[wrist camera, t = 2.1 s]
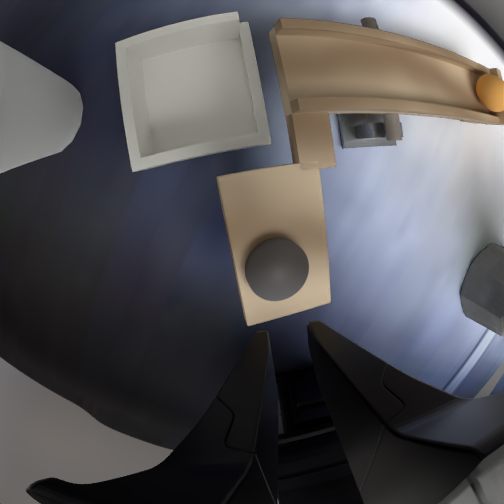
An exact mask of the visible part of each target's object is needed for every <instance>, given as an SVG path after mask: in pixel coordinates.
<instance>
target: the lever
mask: <svg viewBox="0 0 504 504" xmlns="http://www.w3.org/2000/svg"><path fill="white" fill-rule="evenodd" d="M361 23H362V26H363V27H362V26H357V25H351V24H344V23H337V22H329V21H320V20H309V19H292V18H280V19H279V20H278V21H277V23H276V24H275V25H274V27H273V28H272V30H271V31H270V32H269V38H270V42H271V47H272V52H273V56H274V61H275V66H276V71H277V76H278V81H279V86H280V91H281V96H282V102H283V107H284V113H285V117H286V122H287V128H288V134H289V140H290V146H291V152H292V159H293V163H292V164H285V165H278V166H272V167H266V168H260V169H254V170H248V171H243V172H237V173H232V174H227V175H222V176H217V177H216V179H217V184H218V189H219V195H220V200H221V205H222V210H223V215H224V220H225V226H226V231H227V236H228V241H229V246H230V251H231V256H232V260H233V265H234V270H235V275H236V280H237V285H238V290H239V294H240V299H241V304H242V308H243V313H244V318H245V320H246V323H247V325H248V326H250V325H254V324H258V323H262V322H265V321H269V320H273V319H276V318H280V317H283V316H287V315H290V314H294V313H297V312H301V311H304V310H307V309H311V308H314V307H317V306H320V305H324V304H327V303H330V302H331V297H330V278H329V262H328V248H327V236H326V225H325V215H324V205H323V196H322V188H321V179H320V172H319V169H321V168H329V167H336V161H335V153H334V146H333V139H332V133H331V126H330V120H329V115H328V114H340V113H380V114H383V117H384V123H385V130H386V137H387V140H402V135H401V128H400V121H399V115H398V114H404V115H419V116H430V117H440V118H449V119H456V120H460V121H463V122H470V123H482V124H491V125H504V111H501V112H494V111H491V110H489V109H487V108H486V107H485V106H484V105H483V104H482V103H481V102H480V100H479V98H478V96H477V93H476V83H477V81H478V79H479V78H480V77H481V76H482V75H484V74H493V75H496V76H498V77H499V78H500V79H502V77H501V73H500V70H499V69H497V68H493V69H489V68H487V67H485V66H483V65H481V64H478V63H476V62H474V61H472V60H470V59H467V58H465V57H463V56H460V55H458V54H456V53H453V52H450V51H448V50H445V49H443V48H440V47H437V46H434V45H431V44H428V43H425V42H422V41H419V40H416V39H412V38H409V37H405V36H402V35H398V34H394V33H390V32H386V31H382V30H379V29H378V26H377V23H376V20H375V19H374V18H370V17H368V18H363V19H361Z"/></svg>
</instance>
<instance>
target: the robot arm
mask: <svg viewBox="0 0 504 504" xmlns="http://www.w3.org/2000/svg"><path fill="white" fill-rule="evenodd" d="M307 331H308V344H309V349H310V353H311V357H312V361H313V365H314V368H311V369H306V370H301V371H295V372H290V373H284V374H279V375H275V370H274V364H273V358H272V351H271V346H270V340H269V334H268V331H266V330H265V331H259V332H255V333H254V335H253V337H252V339H251V340H250V342H249V344H248V345H247V347H246V349H245V350H244V352H243V354H242V355H241V357H240V359H239V360H238V362H237V364H236V365H235V367H234V369H233V370H232V372H231V374H230V375H229V377H228V378H227V380H226V382H225V383H224V385H223V387H222V388H221V390H220V391H219V393H218V395H217V396H216V398H215V399H214V401H213V402H212V404H211V405H210V407H209V408H208V410H207V411H206V413H205V414H204V416H203V417H202V418H201V420H200V421H199V422H198V423H197V424H196V426H195V427H194V428H193V429H192V431H191V432H190V433H189V434H188V435H187V436H186V437H185V438H184V440H183V441H182V442H181V443H180V444H179V445H178V446H177V447H176V448H175V450H174V451H173V452H172V453H171V454H170V455H169V456H168V457H167V458H166V459H165V460H164V461H163V462H161V463H160V464H159V465H157V466H155V467H153V468H151V469H149V470H145V471H142V472H139V473H135V474H131V475H128V476H124V477H120V478H116V479H112V480H107V481H103V482H98V483H92V484H73V483H69V482H66V481H63V480H60V479H57V478H46V479H42V480H38V481H36V482H34V483H32V484H30V485H29V486H28V487H27V488H26V492H27V493H28V494H29V495H30V496H31V497H32V498H34V499H35V500H37V501H38V502H39V503H41V504H277V498H278V501H279V504H504V393H501V394H496V395H491V396H486V397H481V398H475V399H466V398H461V397H457V396H454V395H452V394H450V393H447V392H445V391H443V390H440V389H438V388H436V387H433V386H431V385H429V384H426V383H424V382H422V381H420V380H418V379H416V378H414V377H412V376H409V375H408V374H406V373H404V372H402V371H401V370H399V369H397V368H395V367H394V366H392V365H390V364H387V362H385V361H384V360H382V359H380V358H379V357H377V356H375V355H374V354H372V353H371V352H369V351H367V350H366V349H364V348H362V347H361V346H359V345H358V344H356V343H354V342H353V341H351V340H350V339H348V338H346V337H345V336H343V335H342V334H340V333H338V332H337V331H335V330H334V329H332V328H330V327H329V326H327V325H326V324H324V323H323V322H321V321H314V322H309V323H308V324H307ZM276 379H277V380H276ZM278 416H281V417H282V424H283V431H284V434H279V435H278Z"/></svg>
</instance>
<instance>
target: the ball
mask: <svg viewBox="0 0 504 504" xmlns="http://www.w3.org/2000/svg"><path fill="white" fill-rule="evenodd" d="M476 93H477V96H478V98H479V100H480V102H481V103H482V104H483V105H484V106H485V107H486V108H487V109H489V110H491V111H494V112H501V111H504V81H503V80H502V79H500V78H499V77H498V76H496V75H493V74H484V75H482V76H481V77H480V78H479V79H478V81H477V83H476Z"/></svg>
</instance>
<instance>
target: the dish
mask: <svg viewBox="0 0 504 504" xmlns="http://www.w3.org/2000/svg"><path fill="white" fill-rule="evenodd" d="M115 46H116V60H117V72H118V82H119V91H120V99H121V107H122V114H123V121H124V127H125V134H126V140H127V145H128V151H129V157H130V162H131V167H132V172H136V171H141V170H146V169H151V168H155V167H159V166H163V165H167V164H171V163H176V162H180V161H184V160H189V159H193V158H198V157H203V156H208V155H213V154H218V153H223V152H228V151H234V150H240V149H246V148H252V147H258V146H265V145H270V144H272V143H271V137H270V131H269V125H268V120H267V114H266V108H265V103H264V97H263V92H262V87H261V81H260V76H259V71H258V66H257V61H256V56H255V51H254V46H253V41H252V37H251V32H250V27H249V23H248V22H241V23H239V16H238V11H237V12H230V13H223V14H217V15H212V16H206V17H201V18H196V19H192V20H187V21H183V22H179V23H175V24H171V25H168V26H164V27H161V28H157V29H154V30H151V31H147V32H144V33H141V34H138V35H135V36H133V37H130V38H127V39H124V40H122V41H119V42H116V43H115Z"/></svg>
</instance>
